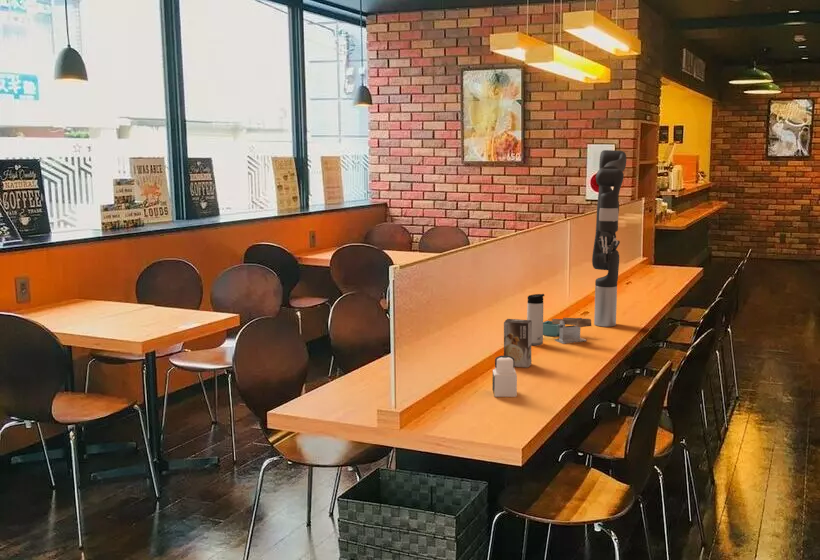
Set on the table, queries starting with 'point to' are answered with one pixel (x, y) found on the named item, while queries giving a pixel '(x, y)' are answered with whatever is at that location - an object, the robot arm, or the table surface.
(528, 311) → the travel mug
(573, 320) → the lever
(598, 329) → the table surface
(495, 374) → the medicine bottle
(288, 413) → the table surface
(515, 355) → the coffee box
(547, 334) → the teal square bin
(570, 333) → the fulcrum
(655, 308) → the table surface
